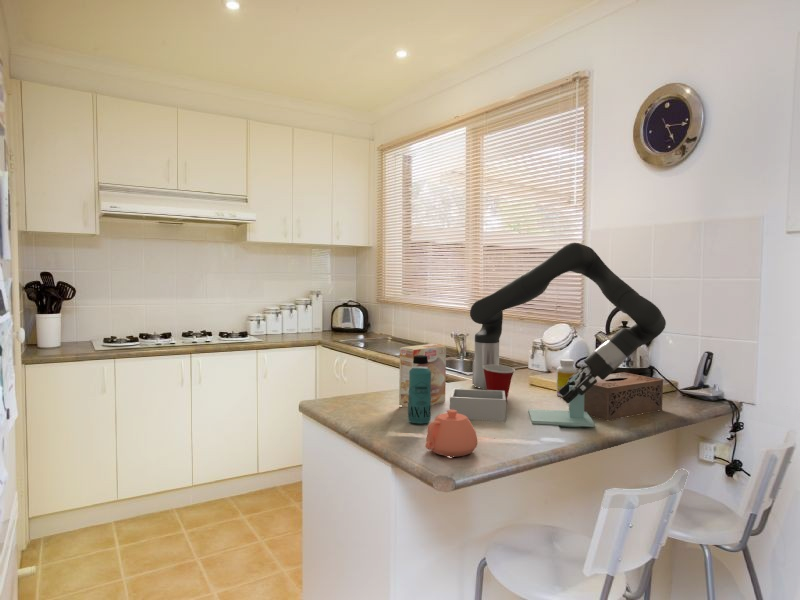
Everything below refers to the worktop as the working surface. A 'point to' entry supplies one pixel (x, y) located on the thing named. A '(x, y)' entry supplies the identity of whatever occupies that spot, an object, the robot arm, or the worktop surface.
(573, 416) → the lid
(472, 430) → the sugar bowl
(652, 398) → the tissue box cover
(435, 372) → the coffeecake box
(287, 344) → the worktop surface
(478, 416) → the tub
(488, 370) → the plastic cup
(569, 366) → the supplement bottle
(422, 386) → the beverage bottle
